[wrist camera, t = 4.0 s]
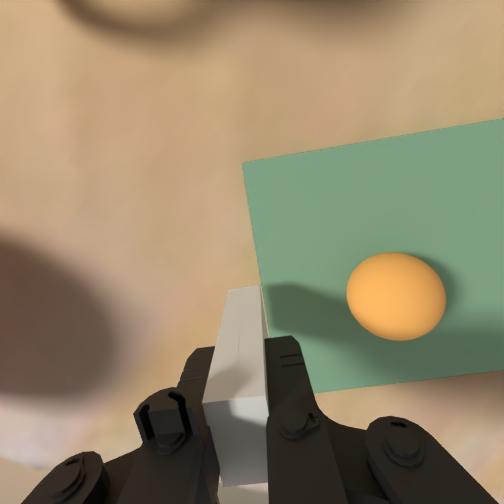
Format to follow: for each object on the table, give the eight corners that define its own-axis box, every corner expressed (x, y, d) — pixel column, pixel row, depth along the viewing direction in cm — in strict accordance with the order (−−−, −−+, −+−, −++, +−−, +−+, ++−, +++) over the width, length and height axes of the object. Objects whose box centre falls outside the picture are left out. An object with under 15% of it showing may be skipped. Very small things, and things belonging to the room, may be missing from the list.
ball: (332, 249, 13) (364, 276, 10) (410, 237, 13) (475, 260, 9) (338, 317, 15) (368, 366, 11) (410, 307, 14) (468, 353, 10)
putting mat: (242, 163, 13) (241, 162, 12) (760, 75, 12) (786, 69, 11) (278, 390, 17) (279, 397, 16) (677, 340, 15) (694, 346, 15)
